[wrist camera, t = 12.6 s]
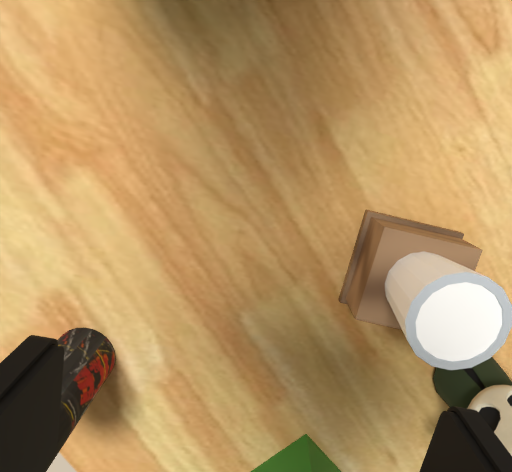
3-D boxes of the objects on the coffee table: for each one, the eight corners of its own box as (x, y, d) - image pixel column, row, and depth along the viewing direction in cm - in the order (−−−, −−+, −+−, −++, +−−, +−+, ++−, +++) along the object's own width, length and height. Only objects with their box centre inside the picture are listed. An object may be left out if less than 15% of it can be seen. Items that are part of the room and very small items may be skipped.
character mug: (502, 319, 39) (616, 406, 27) (529, 378, 41) (648, 487, 28) (397, 368, 41) (456, 473, 28) (426, 423, 42) (495, 547, 29)
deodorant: (63, 319, 40) (-52, 424, 26) (122, 338, 40) (42, 453, 26) (49, 371, 41) (-67, 499, 27) (107, 389, 42) (23, 524, 27)
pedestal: (365, 209, 37) (381, 220, 32) (459, 232, 37) (489, 246, 32) (338, 299, 39) (349, 322, 34) (428, 319, 39) (451, 345, 35)
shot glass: (480, 287, 33) (535, 326, 26) (412, 340, 34) (448, 390, 28) (427, 226, 32) (471, 250, 25) (359, 282, 33) (383, 320, 27)
